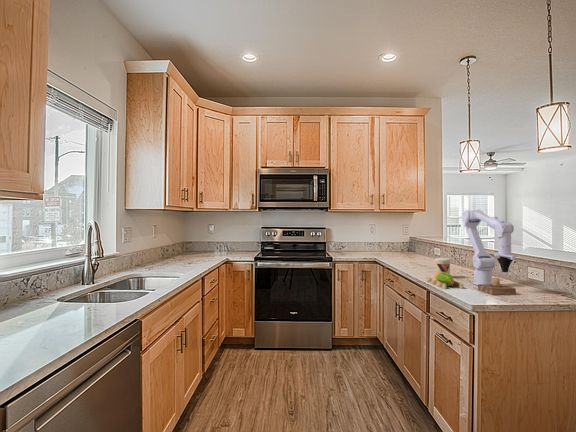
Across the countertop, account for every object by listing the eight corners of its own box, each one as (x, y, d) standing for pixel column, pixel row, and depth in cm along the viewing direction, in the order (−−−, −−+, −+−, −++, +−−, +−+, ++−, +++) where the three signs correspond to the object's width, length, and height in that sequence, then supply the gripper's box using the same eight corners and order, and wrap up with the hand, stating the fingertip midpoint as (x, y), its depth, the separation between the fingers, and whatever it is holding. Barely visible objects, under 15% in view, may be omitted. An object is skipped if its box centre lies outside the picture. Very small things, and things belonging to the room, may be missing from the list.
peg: (491, 291, 177) (490, 278, 177) (497, 291, 177) (497, 277, 177) (494, 292, 173) (494, 279, 173) (501, 292, 173) (501, 279, 173)
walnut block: (478, 289, 181) (477, 284, 181) (500, 289, 181) (500, 283, 181) (491, 294, 169) (491, 288, 169) (515, 294, 169) (515, 288, 169)
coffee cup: (436, 278, 215) (436, 259, 215) (433, 276, 224) (432, 257, 224) (452, 278, 214) (452, 259, 214) (448, 276, 223) (447, 257, 223)
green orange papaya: (444, 274, 186) (429, 268, 206) (443, 288, 186) (428, 281, 206) (457, 275, 186) (442, 269, 206) (456, 289, 186) (441, 282, 206)
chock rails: (426, 281, 207) (426, 276, 207) (443, 280, 207) (443, 276, 207) (444, 288, 184) (444, 284, 184) (463, 288, 184) (463, 284, 184)
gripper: (488, 244, 184) (488, 270, 184) (506, 247, 170) (506, 274, 170) (501, 244, 185) (501, 269, 184) (520, 246, 170) (520, 274, 170)
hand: (505, 272), depth 177 cm, fingers closed
